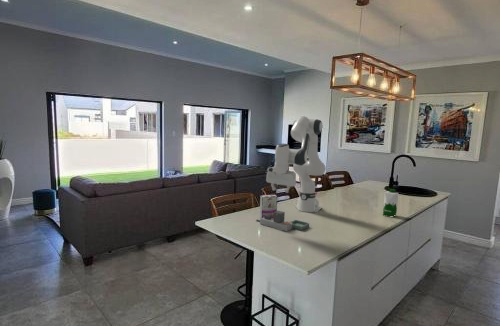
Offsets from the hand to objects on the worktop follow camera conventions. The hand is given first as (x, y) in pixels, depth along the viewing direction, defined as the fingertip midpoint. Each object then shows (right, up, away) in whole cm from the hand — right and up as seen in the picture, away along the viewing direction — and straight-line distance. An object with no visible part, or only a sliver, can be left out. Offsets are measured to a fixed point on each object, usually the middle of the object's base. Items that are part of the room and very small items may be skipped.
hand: (280, 191), depth 184 cm
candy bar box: (-7, -21, +20) cm, 29 cm away
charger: (-1, -21, +2) cm, 21 cm away
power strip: (-5, -23, +5) cm, 24 cm away
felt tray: (+12, -23, +4) cm, 27 cm away
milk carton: (+87, -22, +38) cm, 98 cm away
